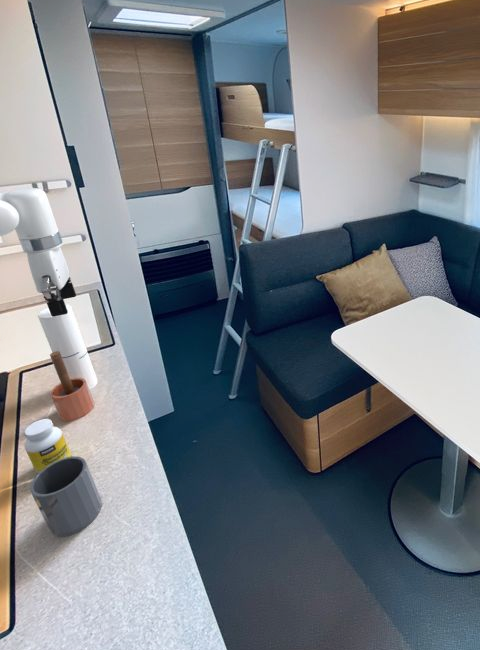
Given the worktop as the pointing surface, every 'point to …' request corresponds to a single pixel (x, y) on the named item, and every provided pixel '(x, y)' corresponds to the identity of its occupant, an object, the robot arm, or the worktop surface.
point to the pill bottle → (45, 444)
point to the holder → (72, 400)
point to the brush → (62, 373)
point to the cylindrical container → (68, 344)
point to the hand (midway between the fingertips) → (64, 305)
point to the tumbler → (66, 496)
